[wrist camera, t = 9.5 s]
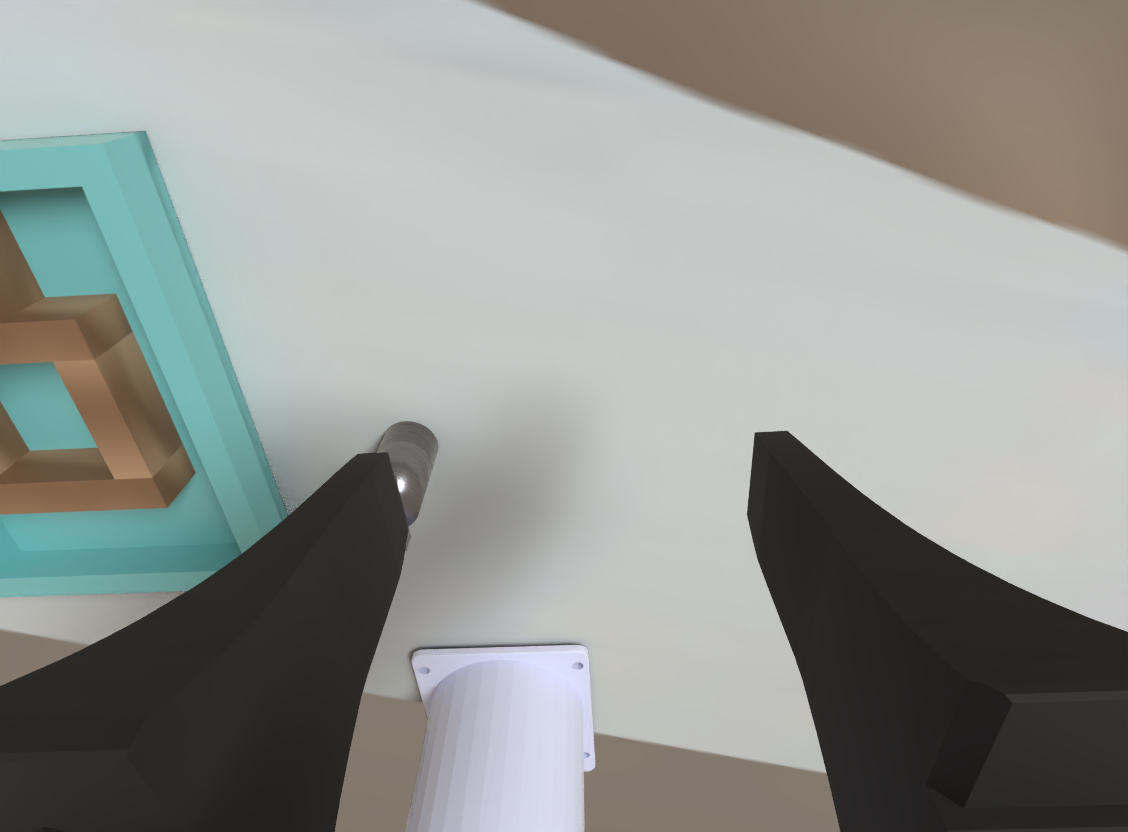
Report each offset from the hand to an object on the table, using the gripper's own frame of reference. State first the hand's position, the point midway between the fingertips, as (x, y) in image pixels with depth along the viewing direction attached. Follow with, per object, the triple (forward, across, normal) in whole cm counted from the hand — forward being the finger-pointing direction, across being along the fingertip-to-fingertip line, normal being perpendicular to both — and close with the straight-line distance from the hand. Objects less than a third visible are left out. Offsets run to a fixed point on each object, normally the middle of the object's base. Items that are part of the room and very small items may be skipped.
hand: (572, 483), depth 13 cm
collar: (+9, +18, 0) cm, 20 cm away
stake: (+9, +6, +5) cm, 12 cm away
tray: (+9, +18, +2) cm, 20 cm away
